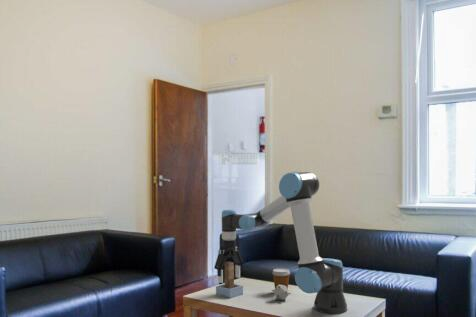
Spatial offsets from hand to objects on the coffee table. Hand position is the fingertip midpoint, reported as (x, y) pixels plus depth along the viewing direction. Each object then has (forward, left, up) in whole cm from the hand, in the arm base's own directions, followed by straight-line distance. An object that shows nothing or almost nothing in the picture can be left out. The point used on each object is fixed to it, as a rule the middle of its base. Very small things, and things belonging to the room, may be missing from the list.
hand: (229, 280), depth 235 cm
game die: (-27, -9, -8) cm, 30 cm away
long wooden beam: (0, 0, -7) cm, 7 cm away
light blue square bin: (0, 0, -8) cm, 8 cm away
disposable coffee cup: (-19, -20, -8) cm, 29 cm away
